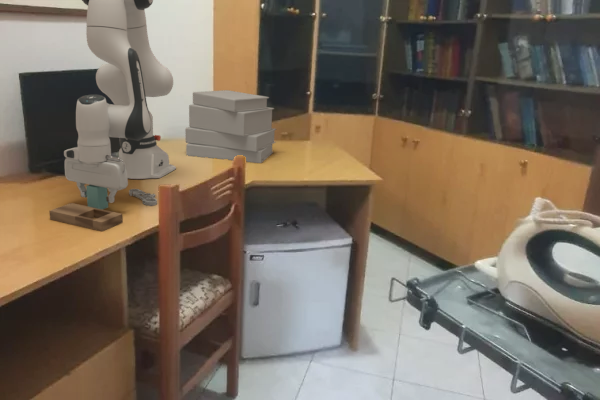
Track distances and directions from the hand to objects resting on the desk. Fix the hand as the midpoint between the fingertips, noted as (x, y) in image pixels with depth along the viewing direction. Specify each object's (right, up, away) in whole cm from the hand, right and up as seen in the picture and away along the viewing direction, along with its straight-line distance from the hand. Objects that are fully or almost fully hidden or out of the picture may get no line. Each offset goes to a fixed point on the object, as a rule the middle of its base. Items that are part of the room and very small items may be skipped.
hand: (97, 199), depth 159 cm
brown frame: (+1, -6, -10) cm, 11 cm away
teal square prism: (0, -3, +1) cm, 3 cm away
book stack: (+29, +19, +77) cm, 84 cm away
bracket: (+10, 0, +11) cm, 15 cm away
